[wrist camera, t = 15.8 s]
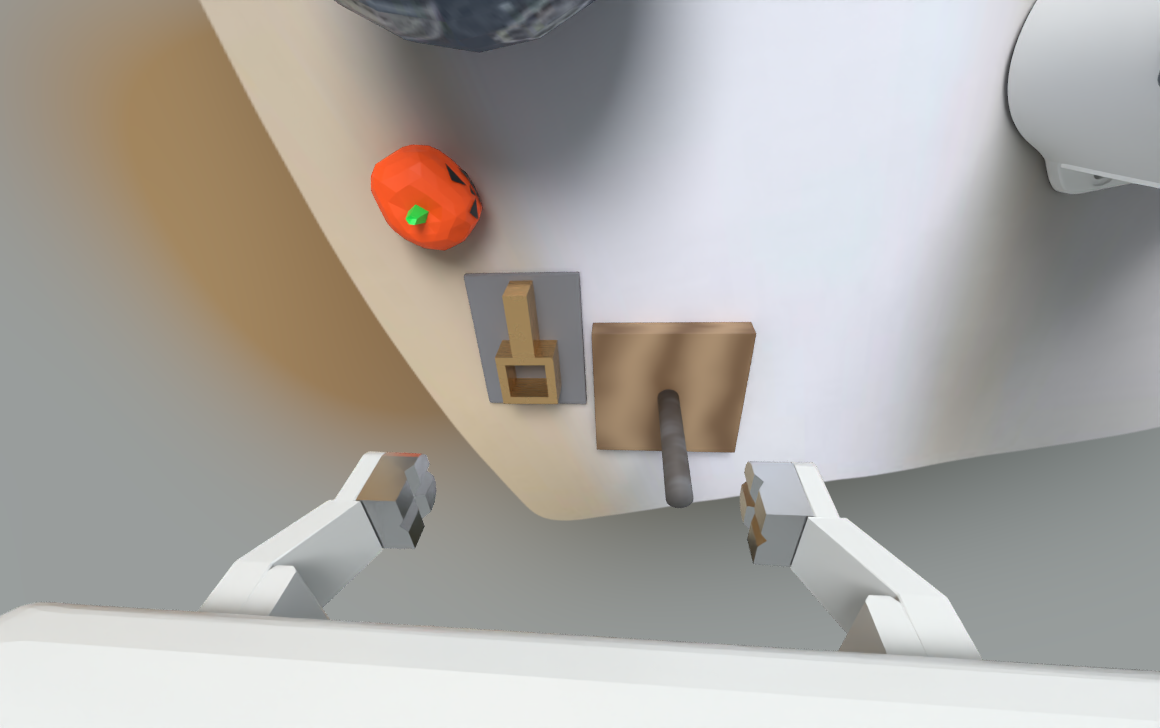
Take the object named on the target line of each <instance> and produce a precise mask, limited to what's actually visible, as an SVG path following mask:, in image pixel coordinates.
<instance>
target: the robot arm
mask: <svg viewBox="0 0 1160 728" xmlns="http://www.w3.org/2000/svg"><path fill="white" fill-rule="evenodd" d="M1008 103H1009V108H1010V112H1011V116H1012V119H1013V121H1014V123H1015V125H1016V127H1017V129H1018V131H1019V132H1020V134H1021V135H1022V136H1023V137H1024V138H1025V140H1026V141H1027V142H1029V143H1030V144H1031V145H1032V146H1033V147H1034V148H1035V149H1037V150H1038V151H1039V152H1040V153H1041V154H1042V156H1043V157H1044V159H1045V162H1046V168H1047V173H1048V177H1049V181H1050V183H1051V186H1052V187H1053V188H1054V189H1055V190H1056V191H1058V192H1062V193H1068V194H1080V193H1086V192H1091V191H1096V190H1101V189H1106V188H1111V187H1116V186H1121V185H1126V184H1132V183H1136V184H1140V185H1145V186H1150V187H1155V188H1159V189H1160V0H1037V1H1036V3H1035V5H1034V6H1033V8H1032V10H1031V12H1030V14H1029V16H1028V18H1027V20H1026V22H1025V24H1024V26H1023V28H1022V31H1021V33H1020V35H1019V38H1018V41H1017V43H1016V46H1015V49H1014V53H1013V56H1012V60H1011V65H1010V70H1009V77H1008ZM428 467H429V461H428V458H427V456H426V455H424V454H416V453H397V452H367V453H366V454H364V455H363V456H362V458H361V460H360V461H359V463H358V464H357V466H356V467H355V469H354V470H353V472H352V473H351V475H350V476H349V478H348V480H347V481H346V483H345V484H344V486H343V487H342V489H341V490H340V492H339V493H338V495H337V497H336V498H335V500H328V501H327V502H325V503H324V504H322V505H320V506H319V507H318V508H316V509H315V510H313V511H311V512H310V513H308V514H307V515H305V516H304V517H302V518H301V519H299V520H298V521H296V522H295V523H293V524H292V525H290V526H288V527H287V528H286V529H284V530H282V531H281V532H279V533H278V534H276V535H275V536H273V537H272V538H270V539H269V540H267V541H266V542H264V543H263V544H261V545H260V546H258V547H256V548H255V549H253V550H252V551H250V552H249V553H248V554H246V555H244V556H243V557H241V558H240V559H238V560H237V561H235V563H234V564H233V565H232V566H231V568H230V569H229V570H228V572H227V573H226V574H225V576H224V577H223V578H222V580H221V581H220V582H219V583H218V585H217V586H216V587H215V589H214V590H213V591H212V593H211V594H210V595H209V597H208V598H207V599H206V601H205V602H204V603H203V605H202V606H201V607H200V608H199V610H198V611H197V612H196V611H180V610H164V609H148V608H147V609H146V608H131V607H115V606H100V605H99V606H98V605H83V604H69V603H57V602H35V603H31V604H26V605H23V606H20V607H17V608H15V609H13V610H11V611H9V612H7V613H4V614H2V615H0V728H1160V671H1152V670H1136V669H1119V668H1102V667H1086V666H1069V665H1054V664H1038V663H1021V662H1004V661H988V660H983V659H982V657H981V655H980V654H979V652H978V650H977V648H976V647H975V645H974V643H973V642H972V640H971V638H970V636H969V635H968V633H967V631H966V629H965V628H964V626H963V624H962V622H961V621H960V619H959V617H958V615H957V614H956V612H955V610H954V608H953V607H952V605H951V603H950V602H949V600H948V598H947V597H946V596H944V595H943V594H942V593H941V592H939V591H938V590H937V589H936V588H934V587H933V586H932V585H931V584H929V583H928V582H927V581H926V580H924V579H923V578H922V577H920V576H919V575H918V574H917V573H915V572H914V571H913V570H912V569H910V568H909V567H908V566H907V565H905V564H904V563H903V562H901V561H900V560H899V559H898V558H896V557H895V556H894V555H893V554H891V553H890V552H889V551H887V550H886V549H885V548H884V547H882V546H881V545H880V544H879V543H877V542H876V541H875V540H874V539H872V538H871V537H870V536H869V535H867V534H866V533H865V532H863V531H862V530H861V529H860V528H858V527H857V526H856V525H855V524H853V523H852V522H851V521H850V520H848V519H847V518H840V517H839V514H838V512H837V510H836V508H835V506H834V504H833V502H832V499H831V497H830V495H829V493H828V490H827V488H826V486H825V484H824V482H823V479H822V477H821V475H820V473H819V471H818V468H817V466H816V465H815V464H814V463H813V462H758V461H748V462H747V464H746V467H745V472H744V473H745V477H746V482H745V483H744V484H742V486H741V492H740V509H741V516H742V520H743V524H745V525H746V526H747V527H748V528H749V533H748V538H747V541H748V544H749V549H750V553H751V557H752V561H753V564H759V565H773V566H787V567H791V570H792V571H793V572H794V573H795V574H796V575H797V577H798V578H799V579H800V580H801V581H802V583H803V584H804V585H805V586H806V587H807V588H808V589H809V591H810V592H811V593H812V594H813V595H814V596H815V597H816V599H817V600H818V601H819V602H820V603H821V604H822V605H823V607H824V608H825V609H826V610H827V611H828V612H829V614H830V615H831V616H832V617H833V618H834V619H835V621H837V623H838V624H839V625H840V626H841V627H842V629H843V630H844V631H845V632H846V633H847V636H846V638H845V639H844V641H843V643H842V645H841V647H840V649H839V651H827V650H810V649H795V648H777V647H762V646H746V645H730V644H713V643H697V642H681V641H664V640H649V639H648V640H647V639H632V638H616V637H599V636H583V635H566V634H551V633H550V634H549V633H534V632H517V631H501V630H485V629H468V628H452V627H437V626H421V625H405V624H403V625H402V624H388V623H372V622H356V621H340V620H330V619H329V617H328V616H327V614H326V613H325V611H324V610H323V607H324V606H325V605H326V604H327V603H328V602H329V601H330V600H331V599H332V598H333V597H334V596H335V595H337V594H338V593H339V592H340V591H341V590H342V589H343V588H344V587H345V586H346V585H347V584H348V583H349V582H350V581H351V580H352V579H353V578H354V577H355V576H356V575H357V574H359V573H360V572H361V571H362V570H363V569H364V568H365V567H366V566H367V565H368V564H369V563H370V562H371V561H372V560H373V559H374V558H375V557H376V556H377V555H379V553H381V552H382V551H383V548H397V549H415V548H416V545H417V543H418V541H419V538H420V536H421V533H422V532H423V529H424V527H425V526H424V523H423V520H422V518H424V517H425V516H426V515H427V514H429V513H430V512H431V510H432V508H433V505H434V502H435V496H436V482H435V479H434V476H433V475H432V474H431V473H429V472H428V471H427V469H428Z"/></svg>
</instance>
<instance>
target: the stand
mask: <svg viewBox="0 0 1160 728" xmlns="http://www.w3.org/2000/svg"><path fill="white" fill-rule="evenodd" d="M755 338H756V332H755V330H754V328H753V325H752V323H751V322H685V323H593V327H592V353H593V375H594V397H595V419H596V441H597V449H600V450H645V451H662V458H663V470H664V483H665V495H666V502H667V503H668V504H669V505H670V506H672V507H675V508H683V507H687V506H689V505H690V504H691V503H692V502H693V492H692V485H691V477H690V470H689V463H688V456H687V451H691V452H735V447H736V441H737V436H738V430H739V425H740V419H741V414H742V409H743V403H744V398H745V392H746V387H747V381H748V376H749V370H750V365H751V359H752V354H753V349H754V343H755Z"/></svg>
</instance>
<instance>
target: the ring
mask: <svg viewBox="0 0 1160 728" xmlns="http://www.w3.org/2000/svg"><path fill="white" fill-rule="evenodd" d="M502 298H503V304H504V310H505V316H506V322H507V328H508V334H509V340H502V342H501V344H500V347H499V349H498V352H497V354H496V356H495V362H496V367H497V372H498V377H499V382H500V387H501V393H502V398H503V403H504V404H558V401H559V396H560V391H561V386H562V383H561V373H560V364H559V354H558V344H557V340H540V335H539V327H538V319H537V311H536V303H535V295H534V287H533V280H524V281H509V283H508V285H507V287H506V289H505V291H504V294H503V296H502ZM515 365H545V372H546V378H517V375H516V369H515Z"/></svg>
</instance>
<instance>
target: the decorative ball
mask: <svg viewBox="0 0 1160 728" xmlns="http://www.w3.org/2000/svg"><path fill="white" fill-rule="evenodd" d="M334 1H336V2H337V3H338V4H340V5H342V6H344V7H345V8H347V9H349V10H351V11H353V12H355V13H357V14H358V15H360V16H362V17H364V18H366V19H368V20H370V21H371V22H373V23H375V24H377V25H379V26H381V27H383V28H384V29H386V30H388V31H390V32H392V33H394V34H396V35H397V36H399V37H401V38H403V39H405V40H409V41H413V42H417V43H423V44H430V45H436V46H442V47H449V48H455V49H461V50H468V51H474V52H483V51H487V50H491V49H496V48H500V47H504V46H509V45H513V44H517V43H522V42H526V41H530V40H534V39H539V38H541V37H543V36H544V35H545V34H547V33H548V32H550V31H551V30H553V29H554V28H556V27H557V26H559V25H560V24H561V23H563V22H564V21H566V20H567V19H569V18H570V17H572V16H573V15H574V14H576V13H577V12H579V11H580V10H582V9H583V8H585V7H586V6H588V5H589V4H590V3H592V2H593V1H595V0H334Z"/></svg>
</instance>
